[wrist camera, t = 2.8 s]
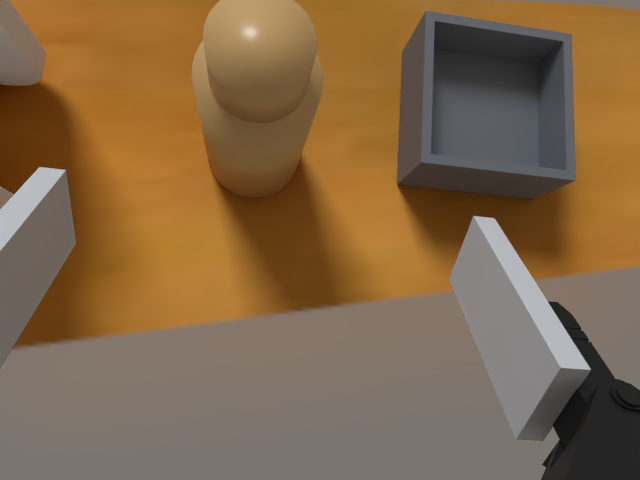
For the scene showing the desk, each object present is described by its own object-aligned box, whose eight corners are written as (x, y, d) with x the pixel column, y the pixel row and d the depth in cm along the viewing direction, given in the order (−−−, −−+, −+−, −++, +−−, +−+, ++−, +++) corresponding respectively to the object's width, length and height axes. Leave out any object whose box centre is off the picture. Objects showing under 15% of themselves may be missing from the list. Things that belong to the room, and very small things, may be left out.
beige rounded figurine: (203, 193, 27) (175, 99, 16) (213, 107, 28) (192, -40, 17) (294, 202, 28) (329, 119, 17) (301, 118, 29) (339, -16, 18)
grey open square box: (397, 184, 29) (420, 162, 25) (402, 51, 30) (425, 11, 27) (532, 199, 30) (575, 180, 26) (530, 70, 32) (571, 34, 28)
